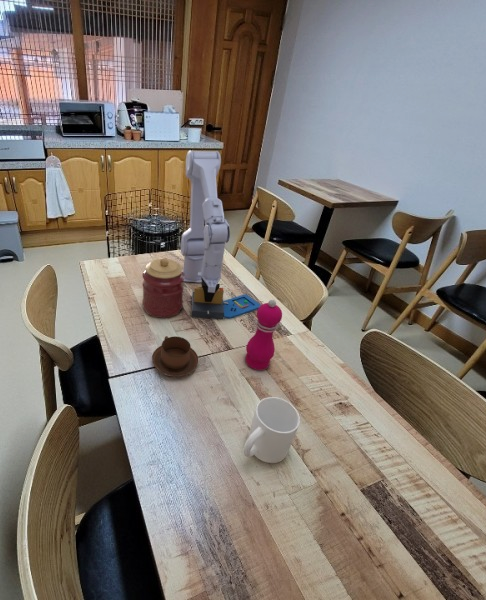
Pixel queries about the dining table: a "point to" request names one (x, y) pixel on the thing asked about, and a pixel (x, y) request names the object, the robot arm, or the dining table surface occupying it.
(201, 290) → the tan rectangular block
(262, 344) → the pepper mill
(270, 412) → the mug
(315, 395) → the dining table surface
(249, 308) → the handheld gaming device
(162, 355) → the cup and saucer
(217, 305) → the frame stand
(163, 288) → the kitchen canister
